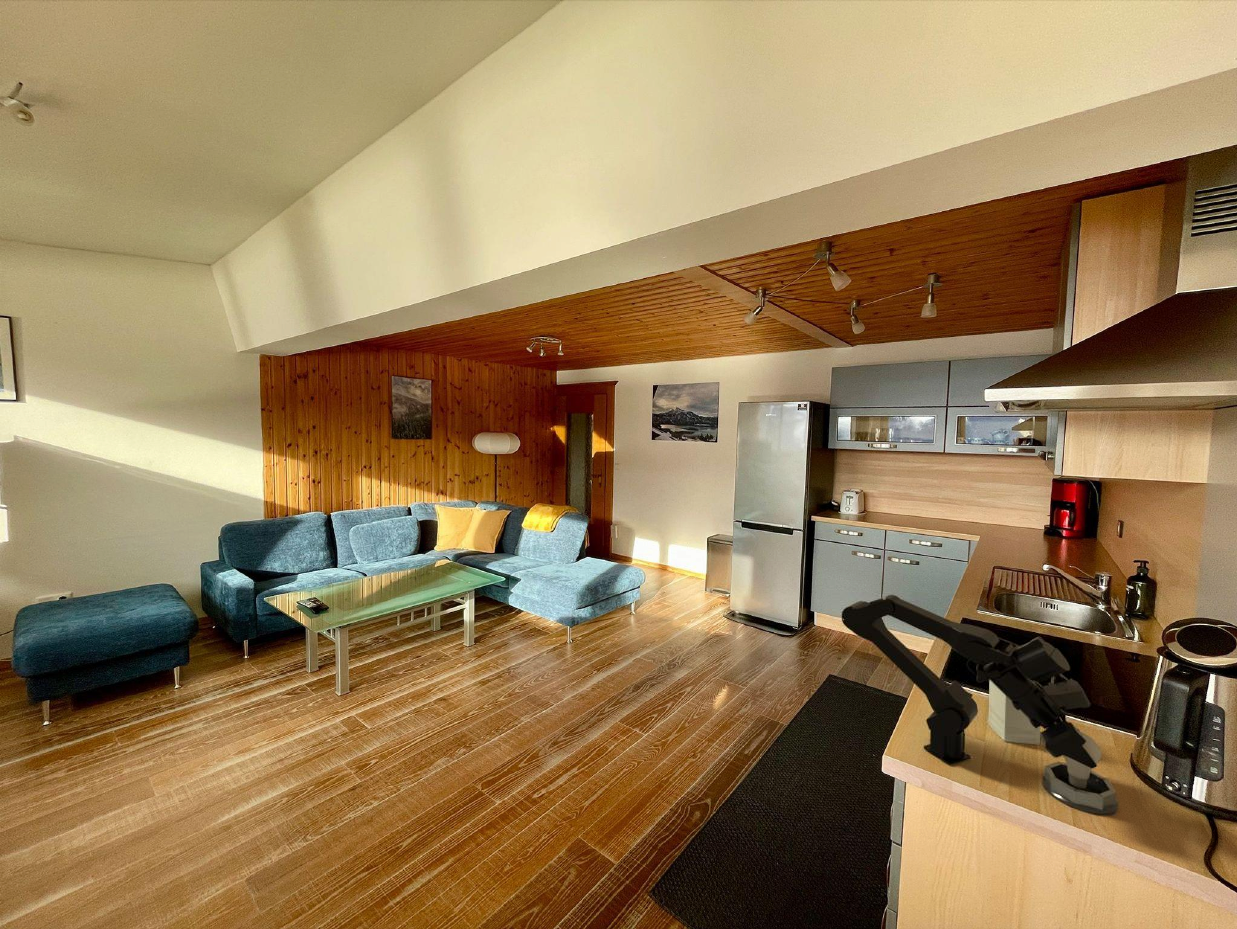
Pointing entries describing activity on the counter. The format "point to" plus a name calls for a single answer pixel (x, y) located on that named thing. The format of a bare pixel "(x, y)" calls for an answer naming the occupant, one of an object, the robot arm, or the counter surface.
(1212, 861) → the counter surface
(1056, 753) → the robot arm
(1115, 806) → the collar
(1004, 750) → the counter surface
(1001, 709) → the supplement box
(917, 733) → the counter surface
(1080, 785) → the lightbulb
